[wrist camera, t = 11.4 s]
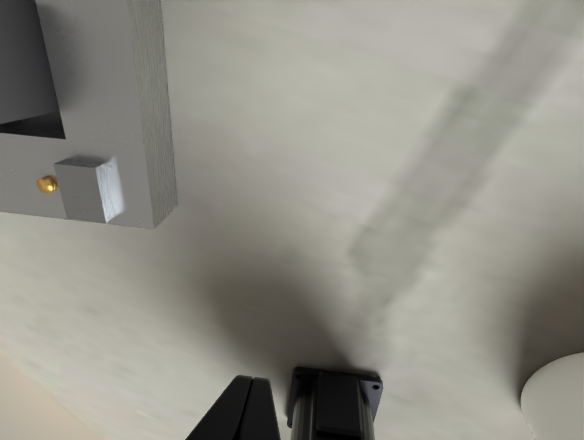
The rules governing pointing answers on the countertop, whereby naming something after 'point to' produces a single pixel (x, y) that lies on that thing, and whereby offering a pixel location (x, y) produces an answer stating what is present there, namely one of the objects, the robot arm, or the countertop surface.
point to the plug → (23, 64)
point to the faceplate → (96, 120)
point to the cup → (556, 400)
